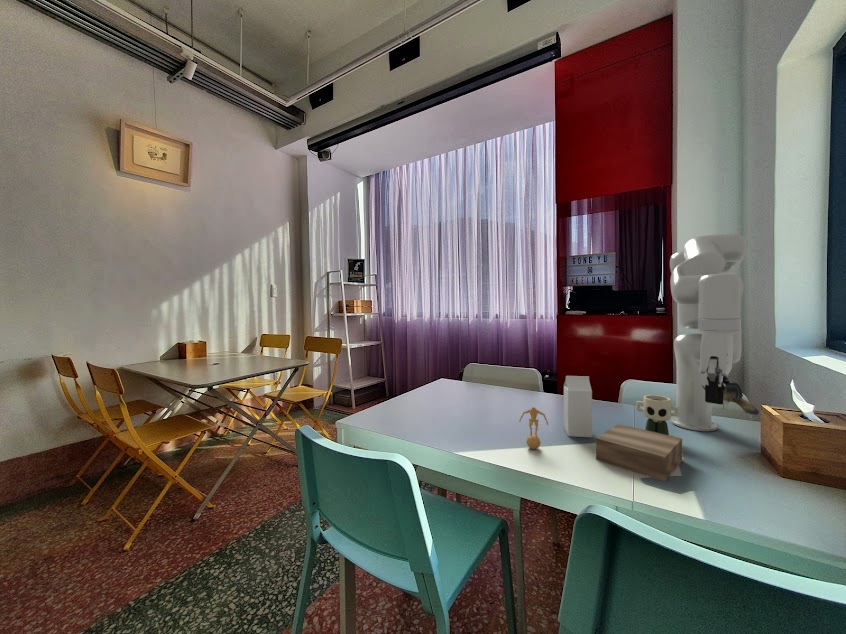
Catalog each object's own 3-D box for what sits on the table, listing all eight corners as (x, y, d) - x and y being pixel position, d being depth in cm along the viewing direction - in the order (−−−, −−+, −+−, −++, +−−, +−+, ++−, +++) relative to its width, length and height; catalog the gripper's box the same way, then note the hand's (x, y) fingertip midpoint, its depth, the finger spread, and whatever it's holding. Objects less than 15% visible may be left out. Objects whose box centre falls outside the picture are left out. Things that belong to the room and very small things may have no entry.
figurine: (518, 449, 102) (518, 409, 101) (520, 441, 107) (520, 403, 107) (548, 453, 99) (548, 412, 98) (548, 444, 104) (548, 406, 104)
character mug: (635, 438, 108) (635, 397, 107) (637, 431, 113) (637, 392, 113) (678, 446, 101) (678, 403, 101) (678, 438, 107) (678, 397, 106)
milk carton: (592, 438, 109) (592, 378, 108) (568, 436, 110) (568, 378, 110) (586, 429, 116) (586, 374, 115) (563, 428, 117) (563, 373, 117)
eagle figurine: (696, 400, 82) (738, 404, 74) (704, 374, 84) (746, 374, 75) (720, 415, 83) (764, 421, 74) (727, 389, 85) (771, 391, 76)
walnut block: (617, 442, 105) (618, 423, 104) (682, 460, 93) (682, 438, 92) (595, 459, 94) (595, 438, 94) (664, 481, 82) (665, 457, 82)
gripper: (705, 323, 90) (704, 389, 90) (690, 328, 78) (689, 404, 79) (744, 324, 84) (743, 395, 85) (734, 329, 73) (732, 411, 73)
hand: (717, 398), depth 82 cm, fingers closed on eagle figurine, 7 cm apart
